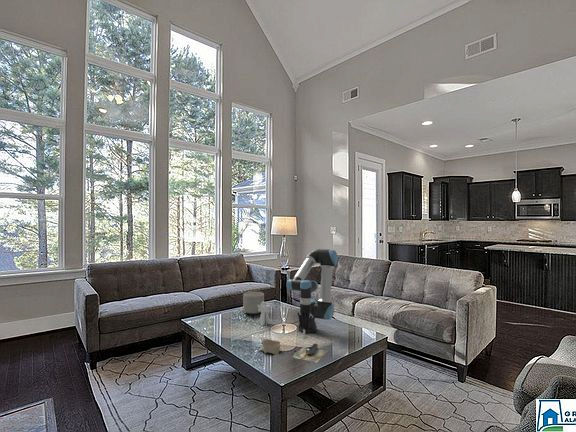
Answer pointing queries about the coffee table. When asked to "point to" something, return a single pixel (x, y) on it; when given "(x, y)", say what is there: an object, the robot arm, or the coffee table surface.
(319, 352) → the tuner board
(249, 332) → the coffee table surface
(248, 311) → the planter
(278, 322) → the coffee table surface
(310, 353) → the peg dial
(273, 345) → the decorative stone
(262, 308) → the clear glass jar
